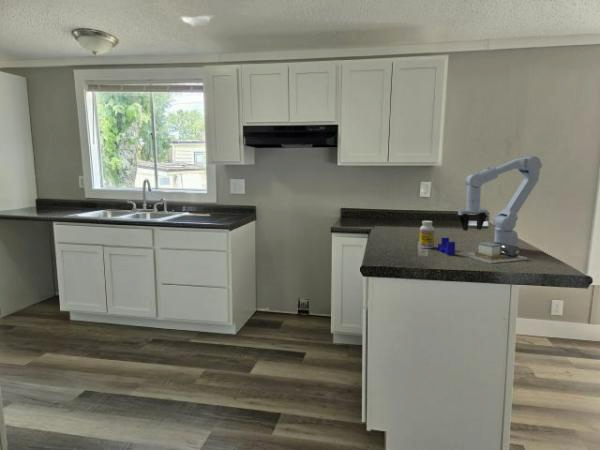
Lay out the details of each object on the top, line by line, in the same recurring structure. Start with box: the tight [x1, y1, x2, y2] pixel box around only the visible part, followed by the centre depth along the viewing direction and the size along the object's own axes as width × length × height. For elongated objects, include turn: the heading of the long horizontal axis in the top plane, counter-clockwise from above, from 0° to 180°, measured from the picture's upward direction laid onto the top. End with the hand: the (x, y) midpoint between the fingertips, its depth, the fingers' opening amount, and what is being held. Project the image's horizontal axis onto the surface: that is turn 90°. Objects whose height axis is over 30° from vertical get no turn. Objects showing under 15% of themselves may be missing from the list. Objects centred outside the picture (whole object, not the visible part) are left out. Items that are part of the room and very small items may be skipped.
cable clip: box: [437, 237, 456, 256], centre depth 181 cm, size 12×4×6 cm, turn 173°
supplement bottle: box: [418, 220, 435, 249], centre depth 192 cm, size 7×7×13 cm
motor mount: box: [463, 242, 528, 264], centre depth 169 cm, size 18×16×5 cm
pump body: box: [477, 241, 500, 256], centre depth 168 cm, size 4×7×5 cm, turn 21°
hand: (472, 229), depth 185 cm, fingers open, 7 cm apart
